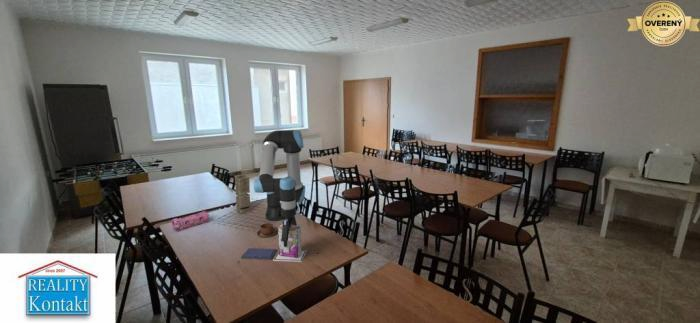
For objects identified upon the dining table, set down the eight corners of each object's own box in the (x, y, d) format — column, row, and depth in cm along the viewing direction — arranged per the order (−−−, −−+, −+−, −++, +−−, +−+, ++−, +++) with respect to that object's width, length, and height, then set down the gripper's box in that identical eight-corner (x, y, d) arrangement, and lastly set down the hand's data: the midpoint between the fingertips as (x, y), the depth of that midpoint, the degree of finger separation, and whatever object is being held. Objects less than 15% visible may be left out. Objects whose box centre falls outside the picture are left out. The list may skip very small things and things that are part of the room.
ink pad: (249, 249, 162) (248, 247, 162) (277, 250, 161) (276, 248, 161) (241, 258, 152) (240, 256, 152) (270, 259, 151) (270, 257, 151)
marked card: (280, 249, 162) (280, 249, 162) (306, 250, 161) (306, 250, 160) (272, 260, 150) (272, 260, 150) (301, 261, 149) (301, 261, 149)
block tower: (241, 216, 214) (239, 177, 208) (236, 213, 219) (233, 175, 214) (251, 213, 219) (249, 175, 214) (246, 210, 225) (243, 173, 220)
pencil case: (176, 234, 183) (175, 220, 182) (171, 230, 189) (169, 217, 187) (211, 224, 199) (209, 211, 198) (205, 220, 205) (203, 208, 203)
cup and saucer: (275, 229, 189) (275, 220, 188) (278, 237, 178) (277, 227, 177) (256, 232, 185) (255, 223, 184) (258, 240, 174) (257, 230, 173)
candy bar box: (278, 256, 154) (277, 226, 151) (282, 251, 159) (281, 223, 156) (298, 258, 152) (297, 228, 149) (302, 253, 156) (301, 225, 153)
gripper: (288, 200, 163) (289, 235, 167) (273, 216, 139) (275, 257, 142) (301, 200, 163) (302, 236, 166) (288, 216, 138) (290, 257, 142)
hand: (290, 245), depth 154 cm, fingers open, 13 cm apart
